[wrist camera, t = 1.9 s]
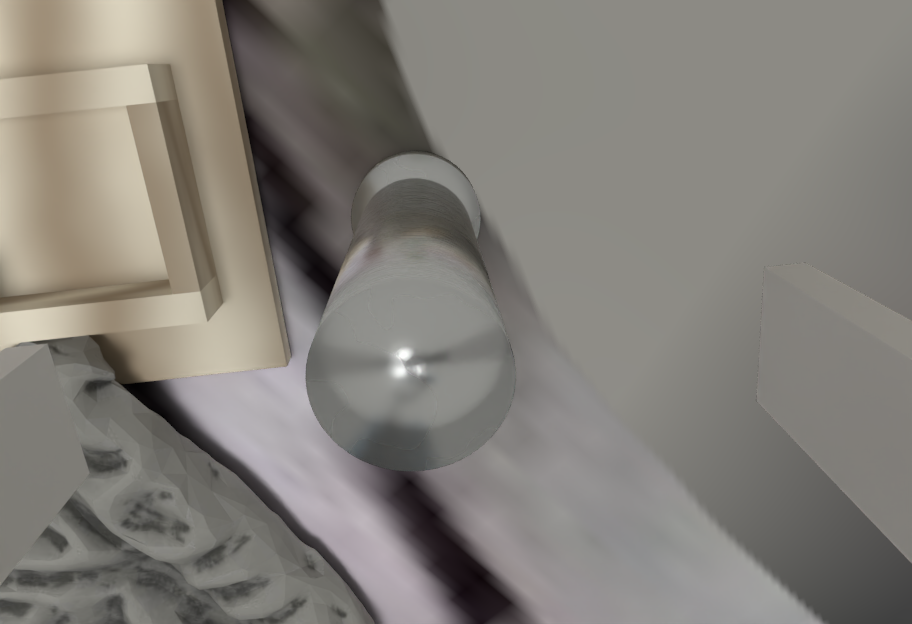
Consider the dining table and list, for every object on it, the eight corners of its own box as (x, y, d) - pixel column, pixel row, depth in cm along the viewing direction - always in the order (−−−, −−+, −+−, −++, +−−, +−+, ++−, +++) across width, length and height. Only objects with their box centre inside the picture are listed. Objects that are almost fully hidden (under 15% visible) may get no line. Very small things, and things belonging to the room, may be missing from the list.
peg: (483, 267, 29) (549, 478, 14) (363, 280, 29) (303, 505, 14) (472, 144, 27) (533, 239, 13) (344, 158, 27) (255, 268, 12)
